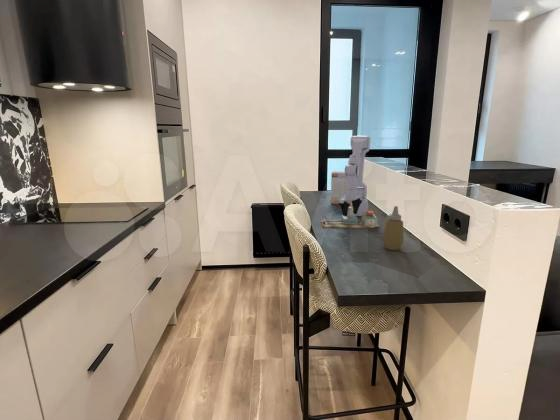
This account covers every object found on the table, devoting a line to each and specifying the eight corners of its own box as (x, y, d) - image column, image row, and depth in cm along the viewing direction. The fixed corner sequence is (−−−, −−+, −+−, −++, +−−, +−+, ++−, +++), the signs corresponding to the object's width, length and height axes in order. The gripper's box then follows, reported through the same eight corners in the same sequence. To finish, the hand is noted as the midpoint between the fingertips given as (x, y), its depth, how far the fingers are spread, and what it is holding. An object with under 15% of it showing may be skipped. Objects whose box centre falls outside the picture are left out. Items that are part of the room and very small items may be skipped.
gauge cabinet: (373, 222, 170) (373, 213, 169) (377, 227, 162) (377, 218, 161) (361, 222, 170) (362, 213, 169) (364, 227, 162) (365, 218, 161)
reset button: (372, 218, 168) (373, 210, 167) (374, 221, 163) (375, 213, 162) (364, 218, 168) (364, 210, 167) (365, 221, 164) (366, 213, 163)
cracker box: (354, 204, 208) (355, 172, 203) (350, 206, 203) (352, 173, 198) (334, 202, 215) (335, 170, 210) (330, 204, 210) (331, 172, 205)
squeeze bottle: (388, 243, 141) (391, 203, 136) (406, 248, 135) (410, 206, 131) (378, 248, 135) (381, 206, 131) (397, 253, 130) (401, 210, 125)
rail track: (375, 222, 170) (375, 217, 170) (379, 227, 162) (379, 222, 161) (321, 222, 172) (321, 217, 171) (322, 227, 163) (322, 222, 163)
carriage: (355, 220, 170) (356, 205, 168) (357, 224, 163) (358, 209, 161) (341, 220, 170) (342, 205, 168) (343, 224, 163) (344, 209, 161)
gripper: (354, 185, 169) (353, 210, 173) (335, 189, 161) (334, 215, 164) (365, 187, 164) (363, 213, 167) (346, 191, 155) (344, 218, 159)
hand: (349, 214), depth 166 cm, fingers open, 7 cm apart
